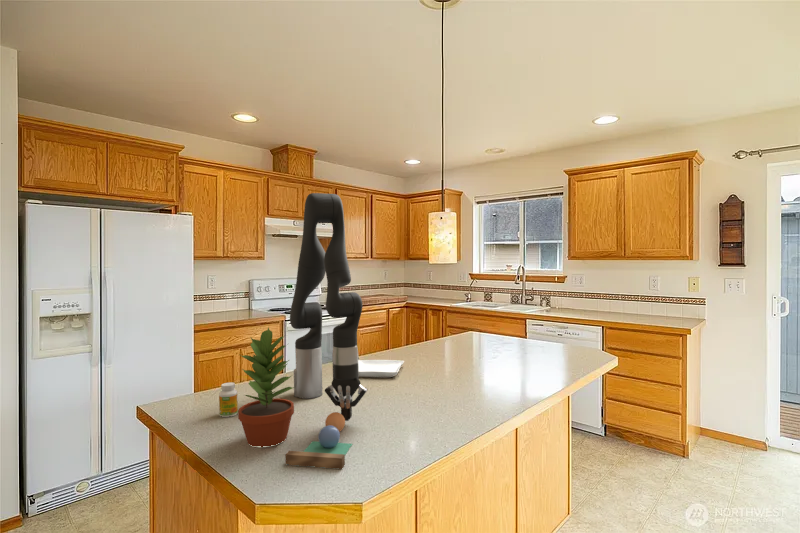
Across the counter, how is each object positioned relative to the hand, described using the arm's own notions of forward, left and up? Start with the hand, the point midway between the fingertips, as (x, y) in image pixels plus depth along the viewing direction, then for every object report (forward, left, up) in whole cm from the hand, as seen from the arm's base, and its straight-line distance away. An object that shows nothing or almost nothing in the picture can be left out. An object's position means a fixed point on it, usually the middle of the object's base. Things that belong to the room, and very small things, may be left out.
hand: (346, 419), depth 125 cm
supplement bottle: (-40, +3, -2) cm, 40 cm away
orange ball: (-2, -6, +1) cm, 6 cm away
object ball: (0, -15, +1) cm, 15 cm away
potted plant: (-18, -13, -2) cm, 22 cm away
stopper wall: (0, -24, -2) cm, 25 cm away
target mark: (0, -18, -2) cm, 18 cm away
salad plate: (-5, +58, -2) cm, 58 cm away
